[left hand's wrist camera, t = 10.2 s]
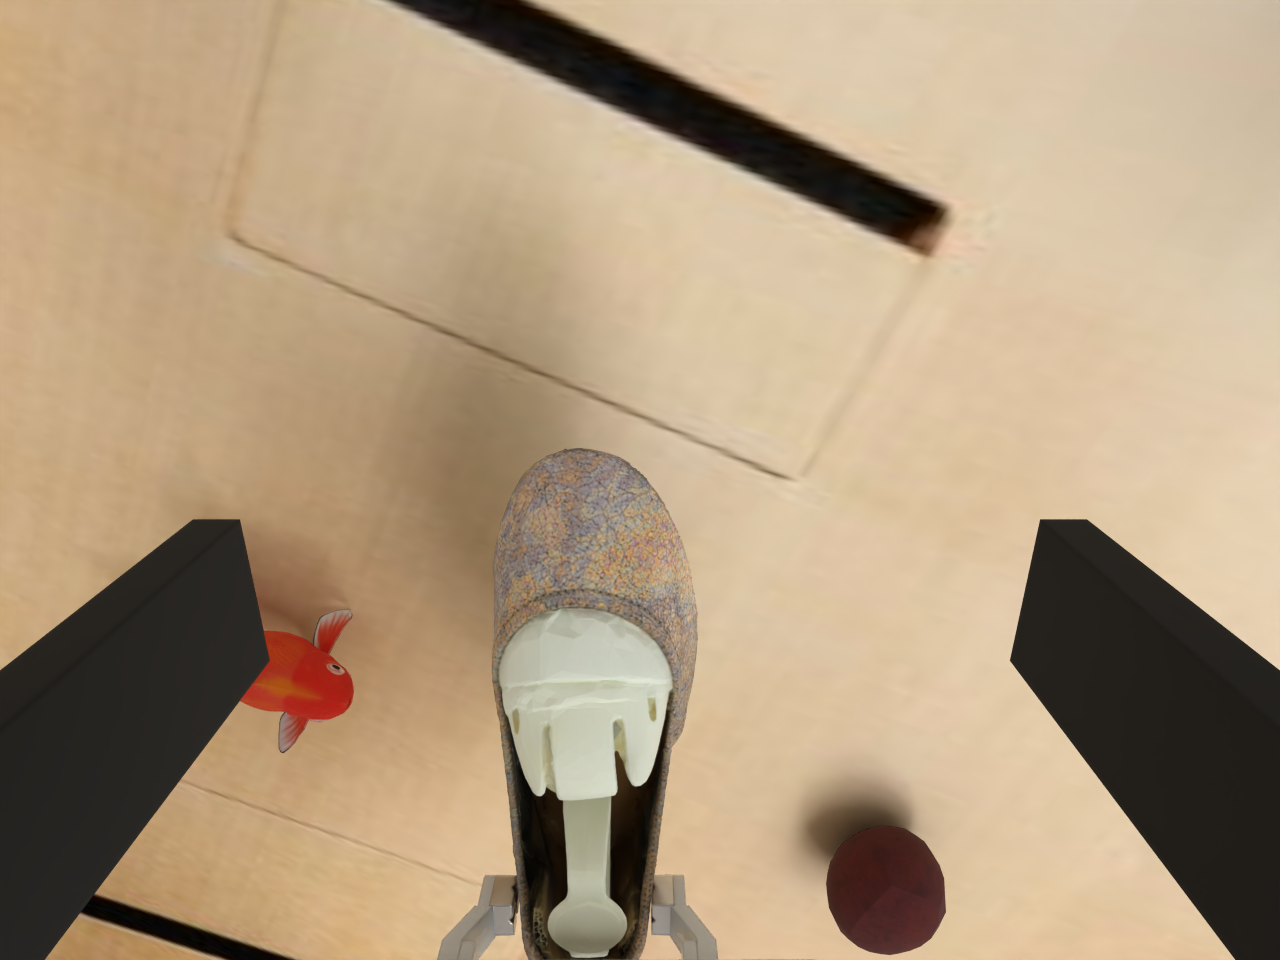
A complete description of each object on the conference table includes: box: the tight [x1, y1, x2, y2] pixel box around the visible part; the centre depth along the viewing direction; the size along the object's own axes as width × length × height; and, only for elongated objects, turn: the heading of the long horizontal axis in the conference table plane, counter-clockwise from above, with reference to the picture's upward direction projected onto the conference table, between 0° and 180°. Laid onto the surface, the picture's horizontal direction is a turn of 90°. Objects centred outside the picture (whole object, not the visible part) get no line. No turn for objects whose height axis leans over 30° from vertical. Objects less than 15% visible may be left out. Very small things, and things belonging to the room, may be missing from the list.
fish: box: [240, 609, 354, 753], centre depth 43 cm, size 11×16×10 cm
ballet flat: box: [492, 448, 697, 960], centre depth 31 cm, size 8×25×8 cm, turn 1°
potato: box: [826, 826, 946, 955], centre depth 50 cm, size 7×8×7 cm
